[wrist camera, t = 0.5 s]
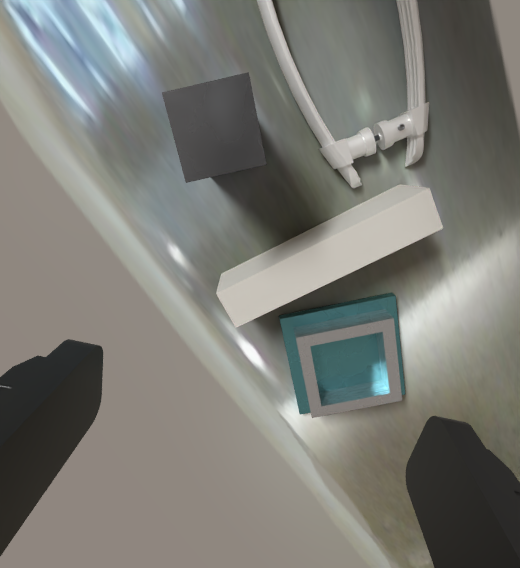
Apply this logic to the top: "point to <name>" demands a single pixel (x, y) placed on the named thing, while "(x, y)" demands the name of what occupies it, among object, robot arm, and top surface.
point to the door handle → (385, 131)
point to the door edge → (328, 252)
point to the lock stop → (215, 127)
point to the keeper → (345, 355)
